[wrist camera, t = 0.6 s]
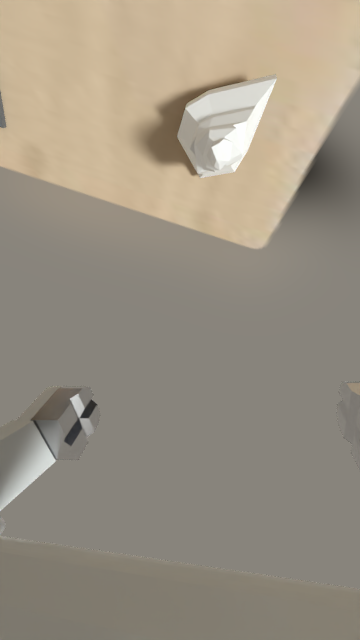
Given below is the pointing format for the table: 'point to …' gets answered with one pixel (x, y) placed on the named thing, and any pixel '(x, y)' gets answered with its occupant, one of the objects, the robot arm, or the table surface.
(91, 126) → the table surface
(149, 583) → the robot arm
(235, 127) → the white angular chunk
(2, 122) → the mat
